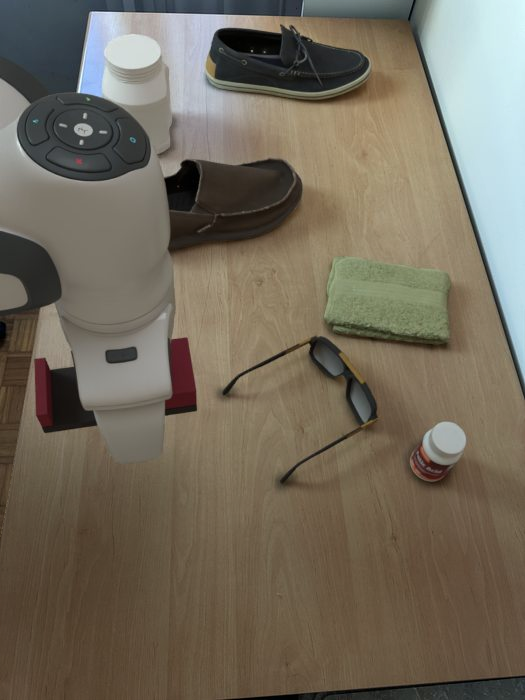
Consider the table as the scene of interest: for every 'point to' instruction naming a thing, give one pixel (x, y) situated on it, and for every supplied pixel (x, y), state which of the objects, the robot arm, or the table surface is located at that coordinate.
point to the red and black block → (68, 413)
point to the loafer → (229, 199)
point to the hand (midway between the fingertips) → (133, 383)
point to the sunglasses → (332, 366)
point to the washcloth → (388, 301)
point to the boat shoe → (283, 64)
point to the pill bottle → (438, 451)
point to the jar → (140, 84)
